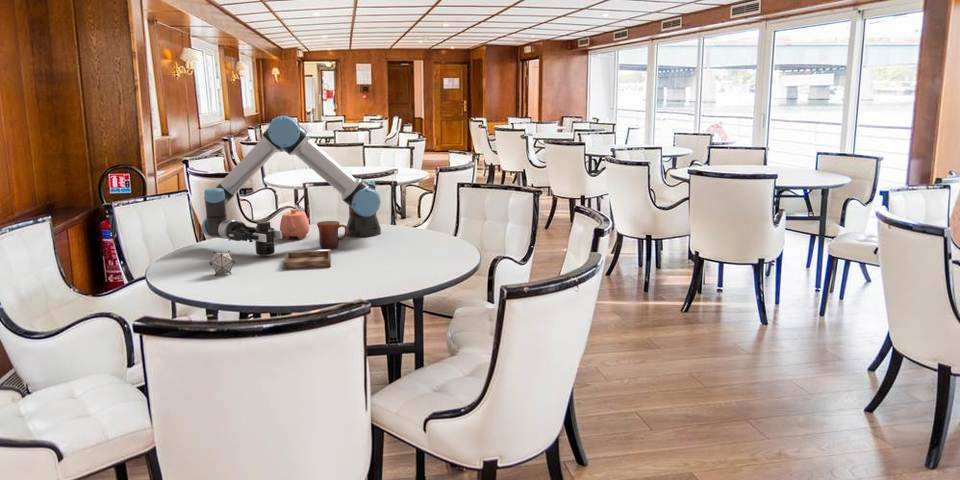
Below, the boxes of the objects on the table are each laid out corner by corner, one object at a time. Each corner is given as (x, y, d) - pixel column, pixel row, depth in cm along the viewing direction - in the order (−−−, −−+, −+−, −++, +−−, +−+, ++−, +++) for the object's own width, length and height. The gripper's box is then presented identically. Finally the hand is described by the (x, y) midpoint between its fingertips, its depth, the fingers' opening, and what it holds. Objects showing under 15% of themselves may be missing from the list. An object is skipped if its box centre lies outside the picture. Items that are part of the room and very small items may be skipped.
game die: (226, 285, 241) (224, 267, 234) (204, 276, 242) (201, 257, 235) (241, 268, 247) (240, 249, 240) (220, 258, 248) (218, 239, 241)
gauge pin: (330, 253, 271) (330, 248, 270) (330, 255, 269) (330, 249, 268) (298, 255, 268) (298, 250, 268) (298, 256, 267) (297, 251, 266)
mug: (315, 250, 277) (313, 224, 275) (322, 245, 285) (320, 220, 283) (344, 251, 276) (343, 225, 274) (351, 246, 284) (350, 221, 282)
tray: (330, 256, 266) (330, 250, 266) (330, 267, 251) (330, 260, 250) (286, 259, 263) (286, 252, 262) (284, 269, 248) (283, 262, 247)
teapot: (286, 233, 311) (284, 206, 308) (313, 232, 311) (311, 205, 309) (275, 242, 291) (273, 214, 289) (304, 242, 292) (302, 213, 289)
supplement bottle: (271, 255, 263) (269, 224, 261) (253, 255, 264) (251, 224, 261) (277, 251, 270) (275, 220, 268) (259, 251, 270) (257, 220, 268)
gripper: (254, 235, 284) (294, 241, 271) (212, 244, 268) (252, 251, 255) (253, 217, 282) (293, 222, 270) (210, 225, 266) (251, 231, 254)
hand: (273, 236), depth 263 cm, fingers closed on supplement bottle, 7 cm apart
